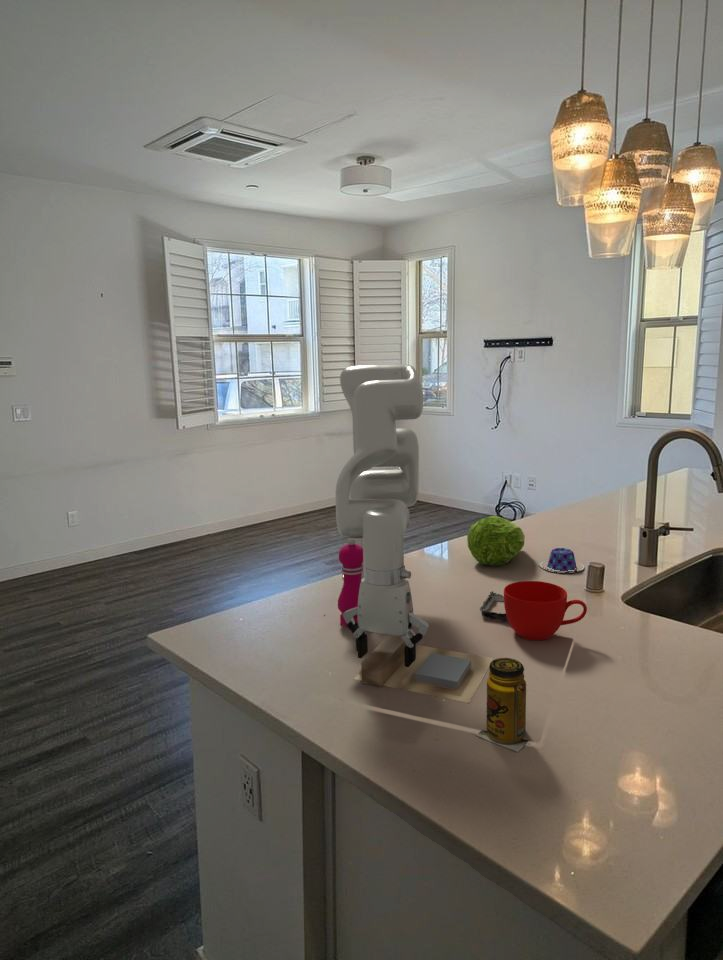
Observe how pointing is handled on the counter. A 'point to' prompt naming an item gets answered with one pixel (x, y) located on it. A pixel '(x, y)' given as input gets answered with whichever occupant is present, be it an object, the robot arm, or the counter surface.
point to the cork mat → (464, 693)
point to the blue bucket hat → (561, 560)
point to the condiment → (506, 704)
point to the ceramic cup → (537, 608)
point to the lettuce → (495, 540)
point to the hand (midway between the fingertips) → (385, 659)
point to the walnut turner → (383, 661)
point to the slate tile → (443, 671)
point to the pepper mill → (350, 577)
